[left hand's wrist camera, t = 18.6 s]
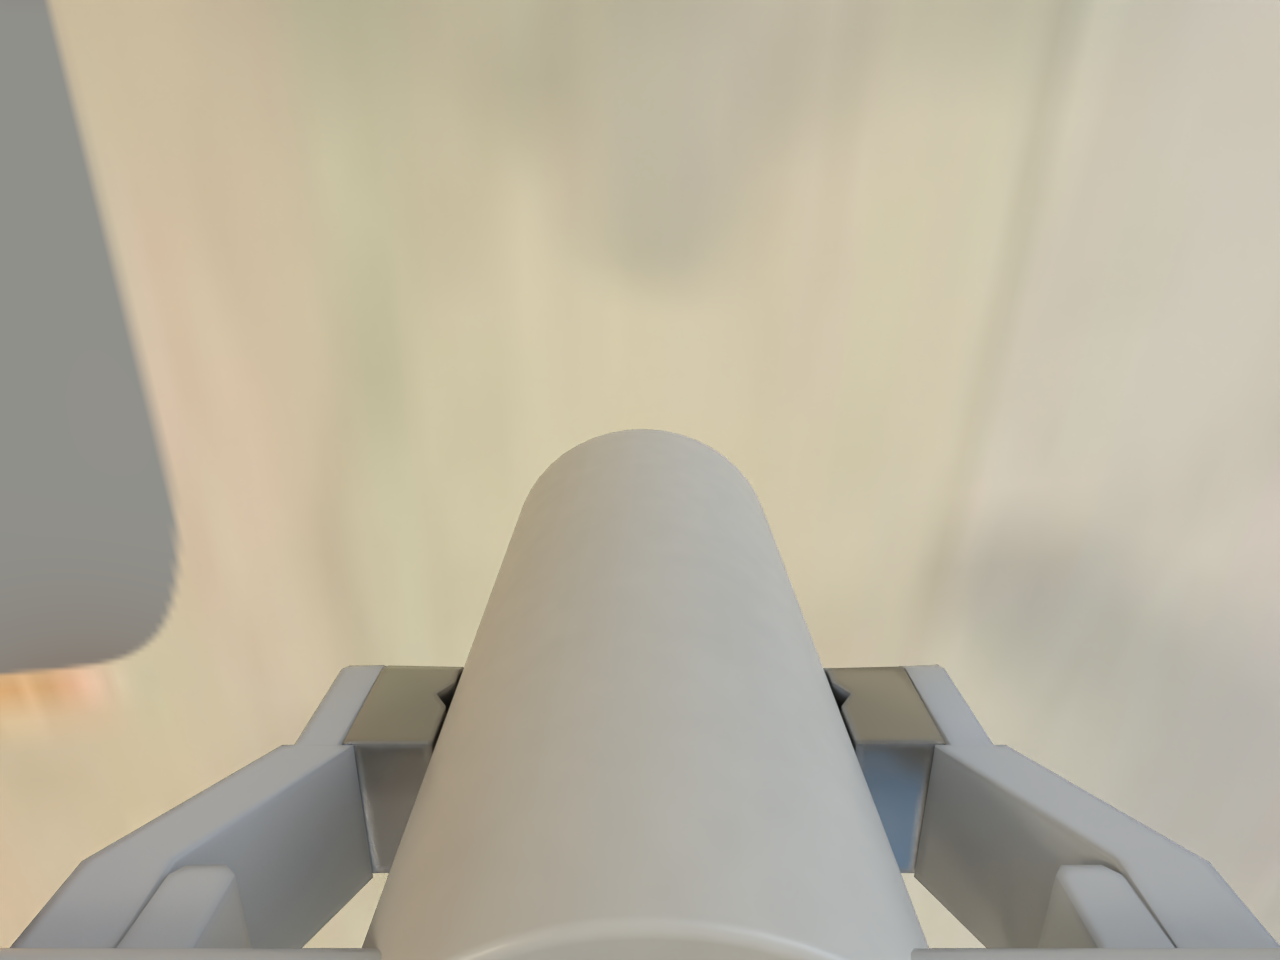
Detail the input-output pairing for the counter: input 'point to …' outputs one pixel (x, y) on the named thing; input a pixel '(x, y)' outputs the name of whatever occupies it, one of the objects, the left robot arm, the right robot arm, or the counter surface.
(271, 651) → the counter surface
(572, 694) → the canister
